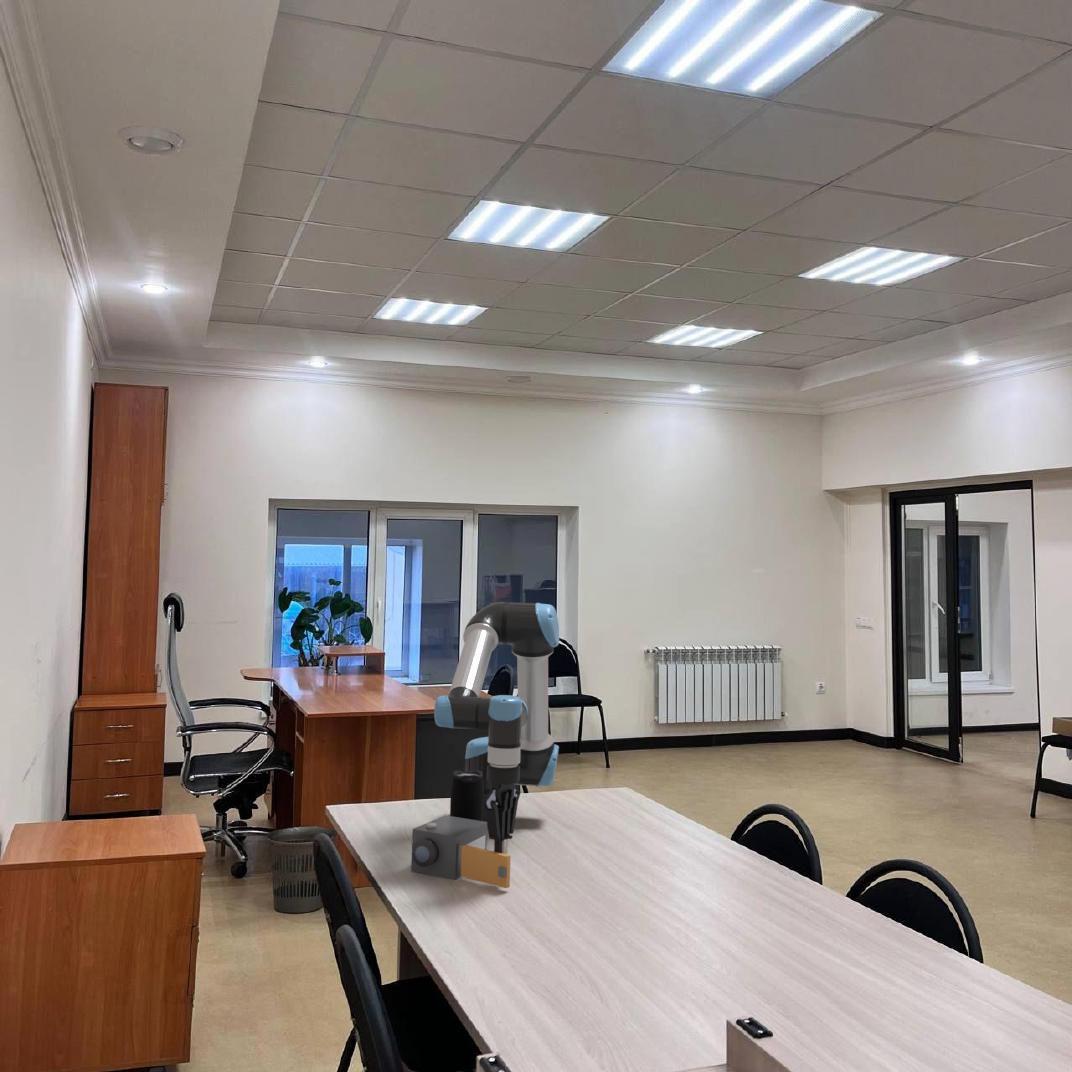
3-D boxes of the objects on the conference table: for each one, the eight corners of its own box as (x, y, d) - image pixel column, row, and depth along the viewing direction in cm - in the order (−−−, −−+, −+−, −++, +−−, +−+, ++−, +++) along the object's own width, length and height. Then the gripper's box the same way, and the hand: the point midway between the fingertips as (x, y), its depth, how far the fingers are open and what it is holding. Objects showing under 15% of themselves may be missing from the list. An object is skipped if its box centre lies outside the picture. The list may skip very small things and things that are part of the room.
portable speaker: (479, 843, 254) (482, 768, 254) (484, 854, 244) (487, 776, 245) (447, 844, 252) (449, 768, 253) (450, 855, 243) (453, 776, 243)
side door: (509, 886, 217) (510, 855, 217) (504, 889, 215) (505, 857, 216) (460, 874, 225) (461, 843, 225) (454, 876, 223) (455, 845, 224)
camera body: (443, 855, 242) (445, 812, 243) (486, 863, 237) (488, 818, 237) (404, 874, 226) (406, 828, 227) (449, 883, 221) (451, 836, 221)
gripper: (503, 757, 229) (500, 857, 229) (474, 767, 218) (471, 872, 217) (531, 761, 225) (528, 863, 225) (503, 771, 214) (499, 878, 214)
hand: (500, 867), depth 221 cm, fingers closed
